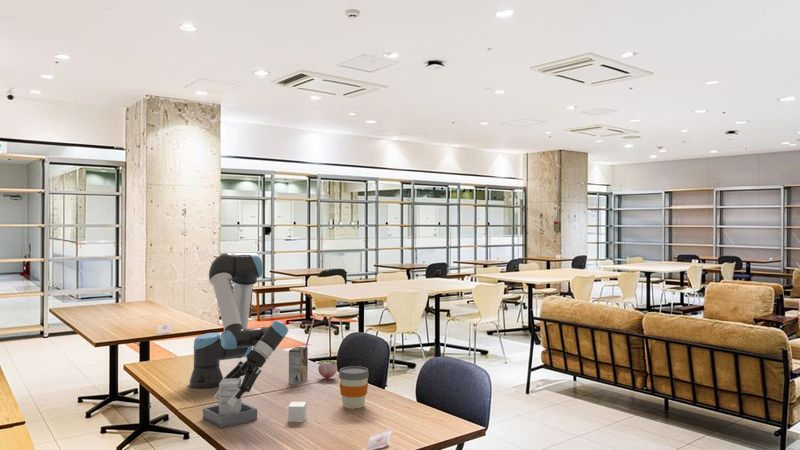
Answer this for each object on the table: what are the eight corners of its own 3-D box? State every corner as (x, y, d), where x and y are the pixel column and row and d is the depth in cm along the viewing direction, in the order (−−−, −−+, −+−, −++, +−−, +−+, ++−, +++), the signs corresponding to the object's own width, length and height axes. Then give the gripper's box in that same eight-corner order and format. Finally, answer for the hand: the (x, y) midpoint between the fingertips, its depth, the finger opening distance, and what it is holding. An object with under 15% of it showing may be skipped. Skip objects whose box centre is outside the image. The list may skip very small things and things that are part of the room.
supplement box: (222, 410, 226) (222, 378, 226) (241, 409, 227) (241, 377, 227) (218, 416, 219) (218, 383, 219) (237, 416, 219) (238, 383, 219)
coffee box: (295, 378, 282) (295, 346, 282) (307, 379, 280) (308, 347, 280) (288, 383, 272) (288, 350, 272) (300, 384, 271) (301, 350, 271)
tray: (202, 418, 223) (202, 408, 223) (237, 410, 233) (237, 400, 233) (221, 428, 212) (221, 417, 212) (257, 419, 223) (257, 409, 223)
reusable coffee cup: (372, 402, 245) (373, 367, 245) (361, 411, 233) (361, 374, 233) (346, 399, 249) (346, 365, 249) (333, 408, 237) (334, 372, 237)
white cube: (304, 422, 220) (304, 406, 220) (288, 422, 220) (288, 406, 220) (306, 416, 226) (306, 401, 226) (291, 416, 226) (291, 401, 226)
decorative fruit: (337, 376, 287) (337, 356, 287) (336, 380, 279) (336, 360, 279) (319, 376, 287) (319, 356, 287) (317, 380, 278) (317, 360, 278)
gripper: (280, 365, 226) (244, 414, 214) (250, 355, 241) (215, 400, 230) (268, 353, 222) (231, 403, 211) (239, 344, 238) (203, 390, 227)
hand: (223, 401), depth 221 cm, fingers closed on supplement box, 10 cm apart
